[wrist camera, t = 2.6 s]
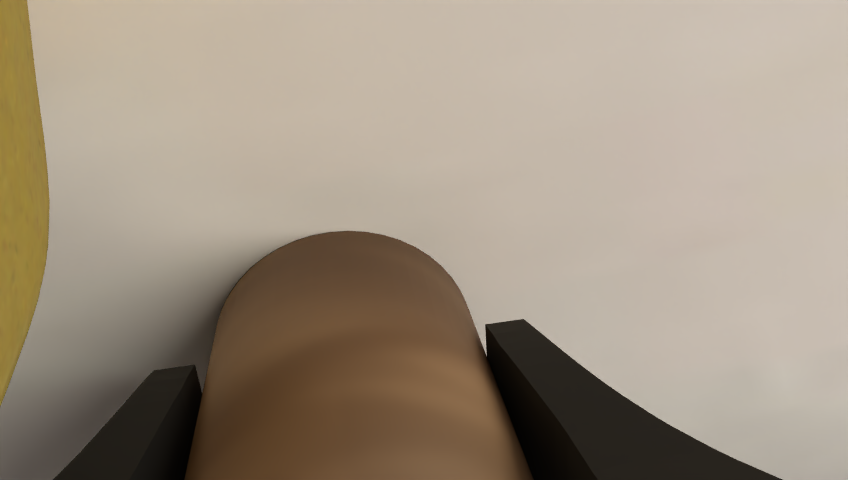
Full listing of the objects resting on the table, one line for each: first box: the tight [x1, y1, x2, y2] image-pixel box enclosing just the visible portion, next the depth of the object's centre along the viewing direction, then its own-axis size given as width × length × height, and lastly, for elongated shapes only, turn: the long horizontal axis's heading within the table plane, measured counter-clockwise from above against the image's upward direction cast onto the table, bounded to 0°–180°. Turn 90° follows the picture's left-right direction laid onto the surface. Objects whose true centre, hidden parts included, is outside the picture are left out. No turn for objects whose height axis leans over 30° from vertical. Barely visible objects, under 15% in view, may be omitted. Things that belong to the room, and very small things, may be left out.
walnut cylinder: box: [184, 231, 534, 480], centre depth 10 cm, size 4×4×6 cm
